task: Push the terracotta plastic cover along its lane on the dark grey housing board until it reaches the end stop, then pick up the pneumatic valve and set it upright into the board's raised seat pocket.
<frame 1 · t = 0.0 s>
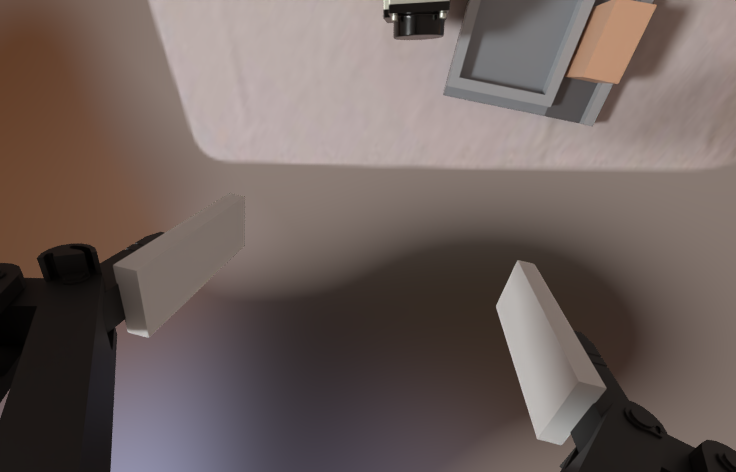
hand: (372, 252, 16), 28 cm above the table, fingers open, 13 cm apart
cover: (605, 44, 30), point 4 cm above the table, slide at 0.0 cm
housing: (551, 3, 32), on the table
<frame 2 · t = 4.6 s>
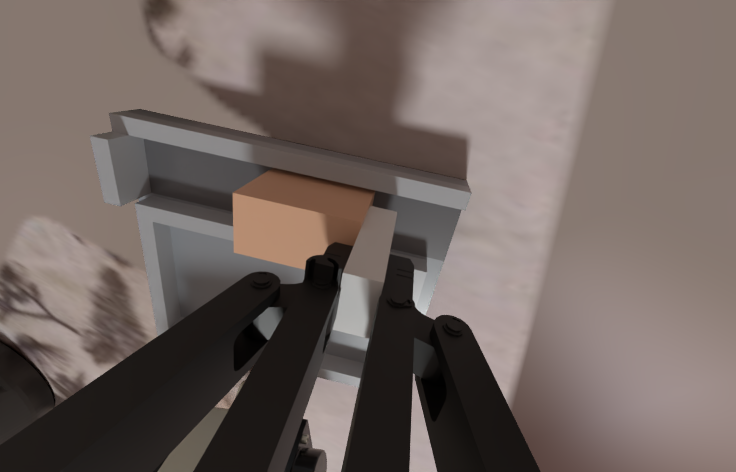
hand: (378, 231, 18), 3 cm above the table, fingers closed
pneumatic valve: (281, 381, 29), on the table
cover: (309, 219, 17), point 4 cm above the table, slide at 0.9 cm, touching gripper
housing: (289, 257, 23), on the table
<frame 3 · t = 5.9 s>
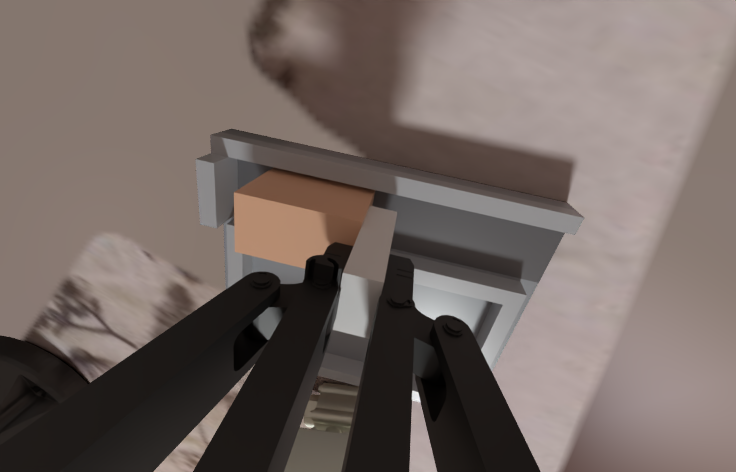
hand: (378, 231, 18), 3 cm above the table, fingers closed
pneumatic valve: (343, 396, 29), on the table
cover: (309, 218, 17), point 4 cm above the table, slide at 6.7 cm, touching gripper
housing: (370, 276, 23), on the table
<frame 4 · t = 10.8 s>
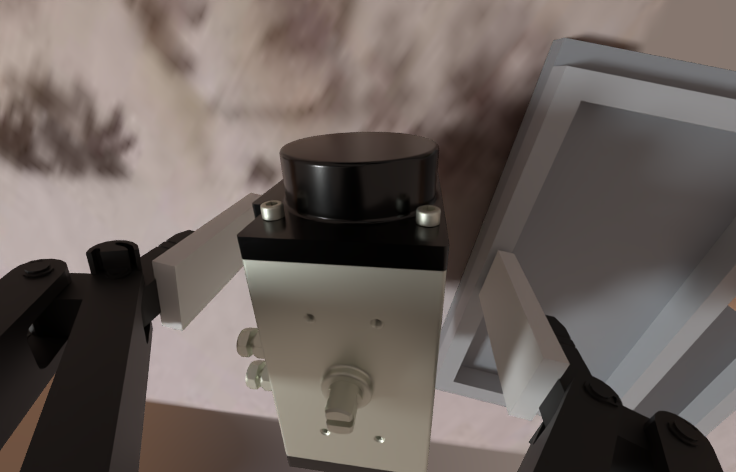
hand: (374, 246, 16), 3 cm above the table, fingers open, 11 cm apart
pneumatic valve: (379, 220, 19), on the table
housing: (618, 277, 18), on the table
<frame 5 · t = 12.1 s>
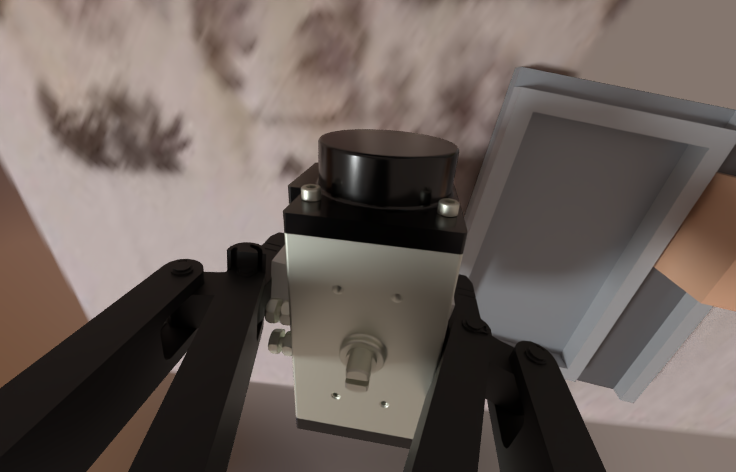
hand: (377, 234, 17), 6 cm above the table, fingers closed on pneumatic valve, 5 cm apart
pneumatic valve: (385, 214, 20), point 3 cm above the table, touching gripper
cover: (734, 240, 17), point 4 cm above the table, slide at 6.9 cm
housing: (575, 251, 22), on the table
when the fingers open (4 cm above the table, at t = 16.2 s): pneumatic valve stays where it is, resting on housing.
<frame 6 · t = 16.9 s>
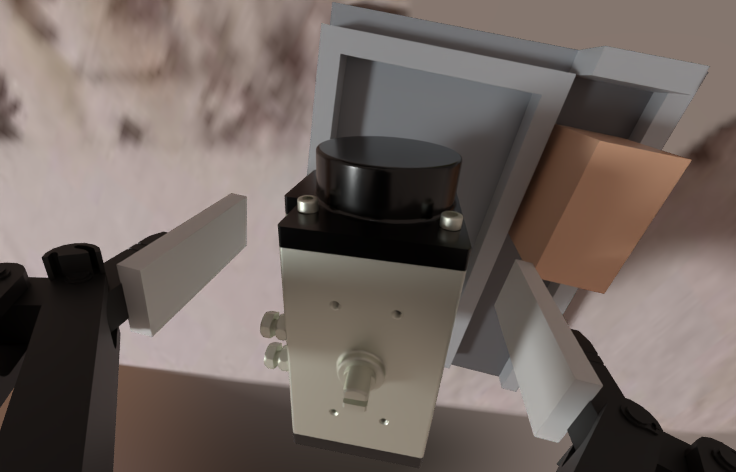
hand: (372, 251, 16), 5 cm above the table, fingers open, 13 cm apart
pneumatic valve: (386, 219, 20), point 1 cm above the table, touching housing
cover: (578, 204, 15), point 4 cm above the table, slide at 6.9 cm, touching gripper
housing: (441, 223, 20), on the table
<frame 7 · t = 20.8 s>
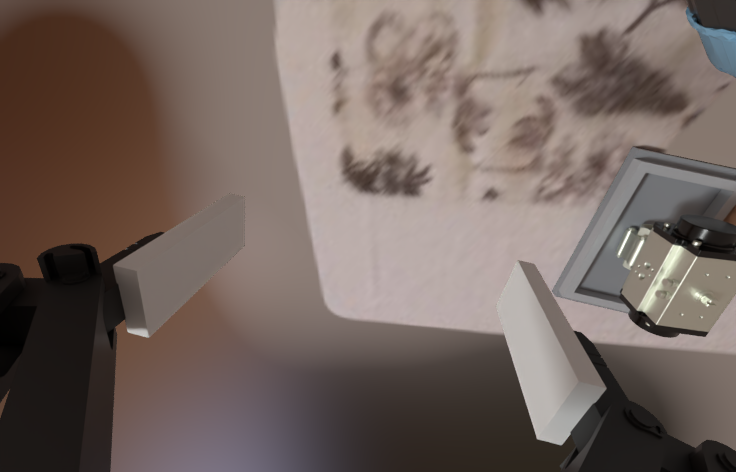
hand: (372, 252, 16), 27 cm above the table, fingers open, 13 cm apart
pneumatic valve: (629, 240, 39), point 1 cm above the table, touching housing
housing: (653, 241, 40), on the table
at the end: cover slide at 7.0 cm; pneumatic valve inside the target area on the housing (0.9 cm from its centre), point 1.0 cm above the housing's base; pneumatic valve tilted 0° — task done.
